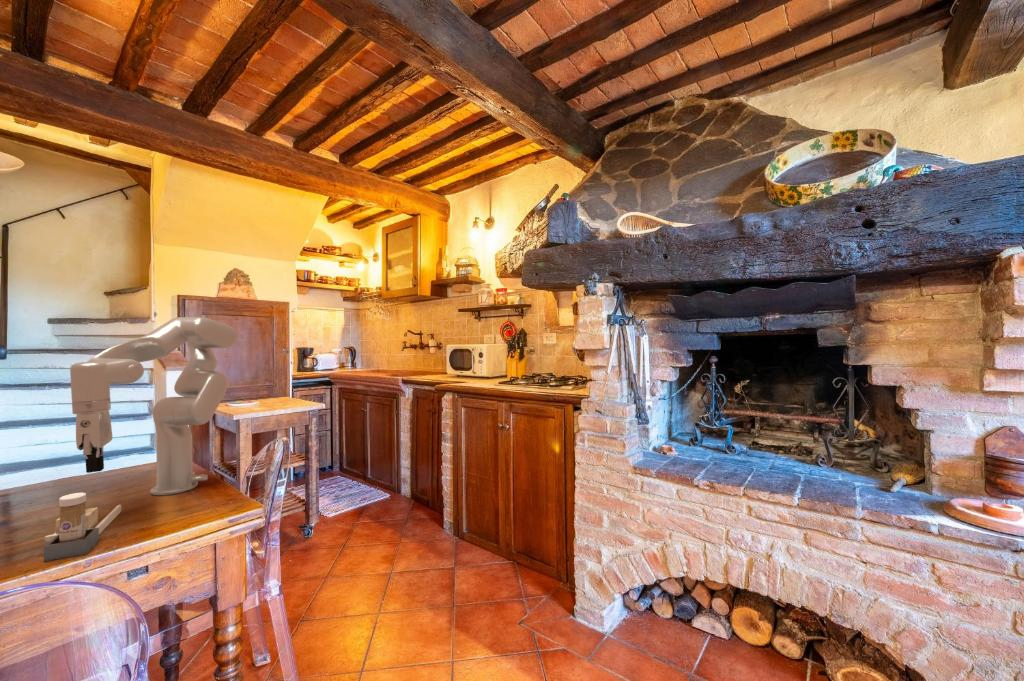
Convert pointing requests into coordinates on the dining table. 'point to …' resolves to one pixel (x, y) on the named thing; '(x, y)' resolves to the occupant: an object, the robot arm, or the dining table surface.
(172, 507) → the dining table surface
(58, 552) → the winch socket
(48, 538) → the bay
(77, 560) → the dining table surface
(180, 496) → the dining table surface
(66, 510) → the sprinkles bottle
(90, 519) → the cardboard box
